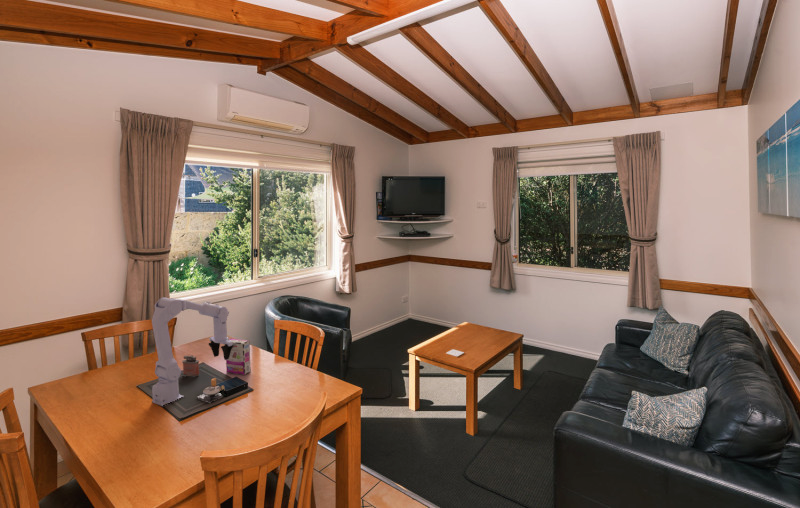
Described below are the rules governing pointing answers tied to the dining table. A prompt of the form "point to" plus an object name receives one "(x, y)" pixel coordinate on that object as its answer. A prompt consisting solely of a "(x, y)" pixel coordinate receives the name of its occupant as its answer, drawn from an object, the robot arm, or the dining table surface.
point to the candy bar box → (239, 357)
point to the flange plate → (212, 388)
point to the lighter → (190, 366)
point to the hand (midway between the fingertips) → (221, 357)
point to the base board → (211, 396)
